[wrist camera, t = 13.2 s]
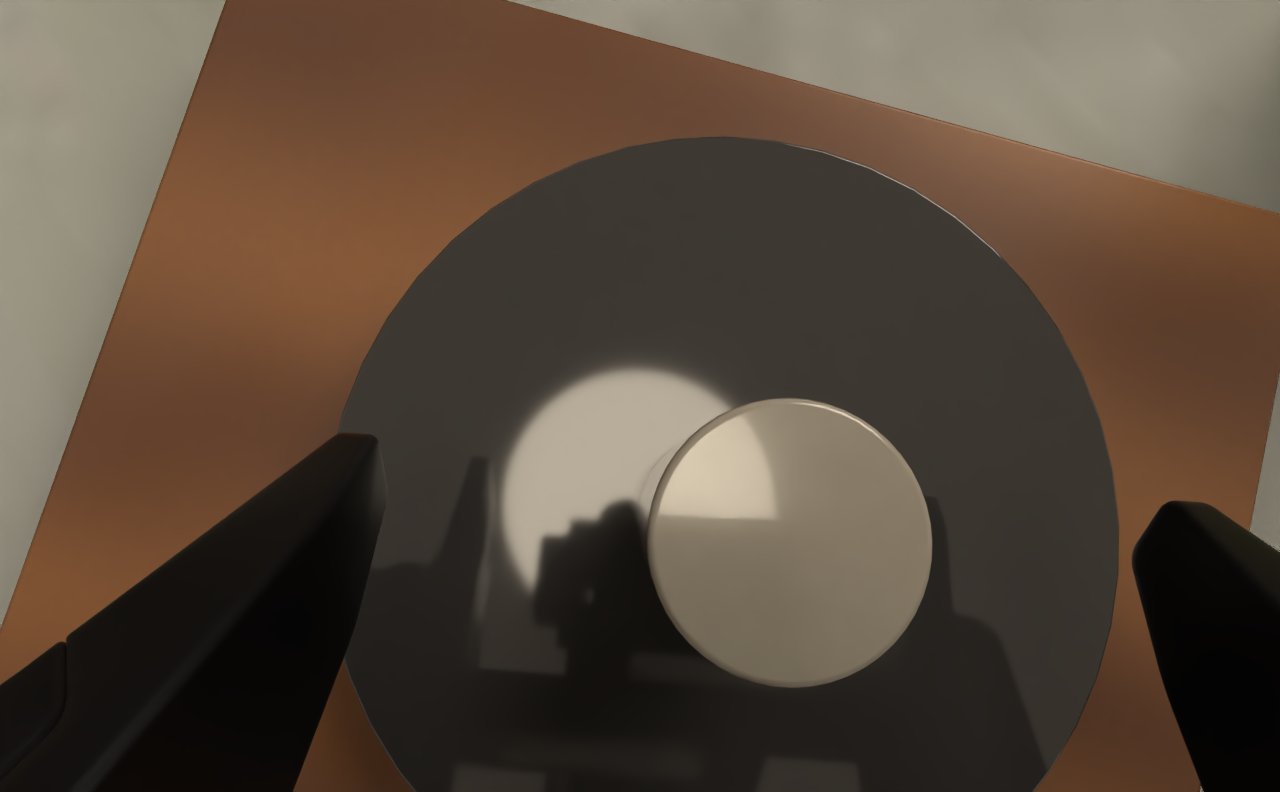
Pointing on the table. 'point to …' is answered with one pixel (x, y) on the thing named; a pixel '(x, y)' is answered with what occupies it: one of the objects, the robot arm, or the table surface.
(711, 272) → the lid
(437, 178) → the board
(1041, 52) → the table surface
